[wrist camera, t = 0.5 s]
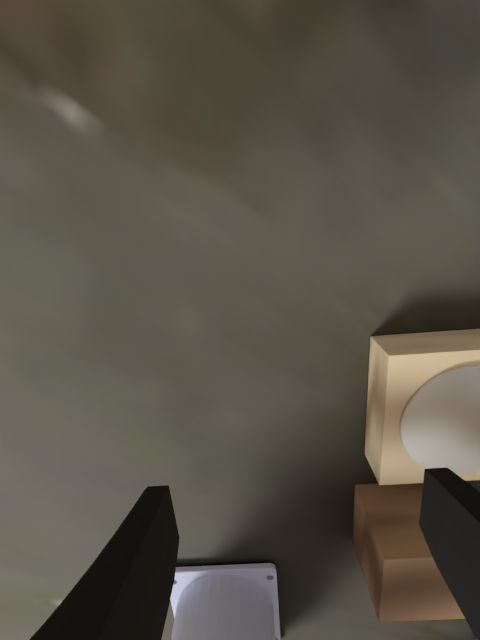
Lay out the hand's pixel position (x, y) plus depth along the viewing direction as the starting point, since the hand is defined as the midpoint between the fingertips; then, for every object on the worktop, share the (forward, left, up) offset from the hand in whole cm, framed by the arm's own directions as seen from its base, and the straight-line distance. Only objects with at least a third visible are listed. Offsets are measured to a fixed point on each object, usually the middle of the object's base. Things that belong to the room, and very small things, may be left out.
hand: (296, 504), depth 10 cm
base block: (-3, -10, -10) cm, 14 cm away
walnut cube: (-12, -8, -10) cm, 18 cm away
